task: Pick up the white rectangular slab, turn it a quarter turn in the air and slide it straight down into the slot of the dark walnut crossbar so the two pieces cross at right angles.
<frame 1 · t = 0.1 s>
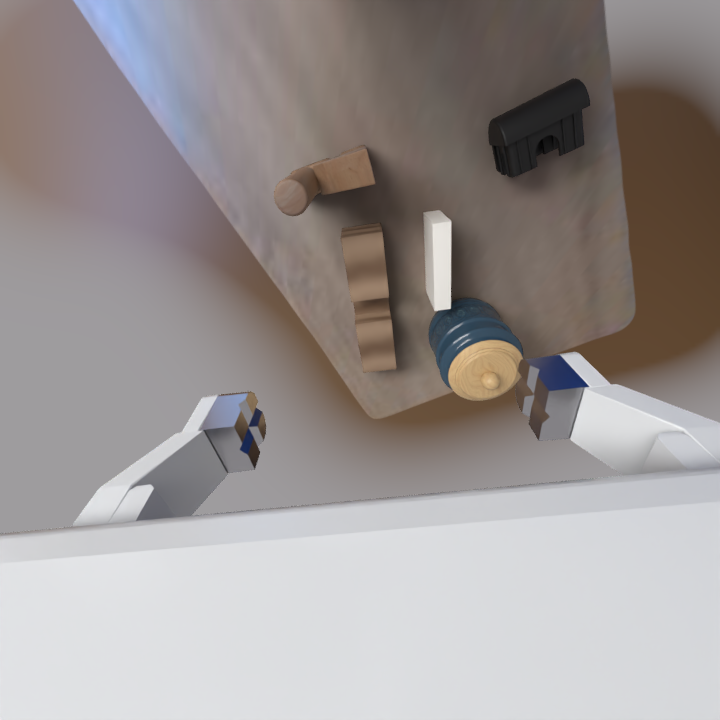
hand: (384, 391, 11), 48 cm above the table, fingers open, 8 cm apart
walnut crossbar: (370, 296, 60), on the table
end cap: (524, 131, 47), on the table
canister: (461, 327, 64), on the table
white rectangular slab: (432, 253, 56), on the table
wooden block: (332, 170, 49), on the table
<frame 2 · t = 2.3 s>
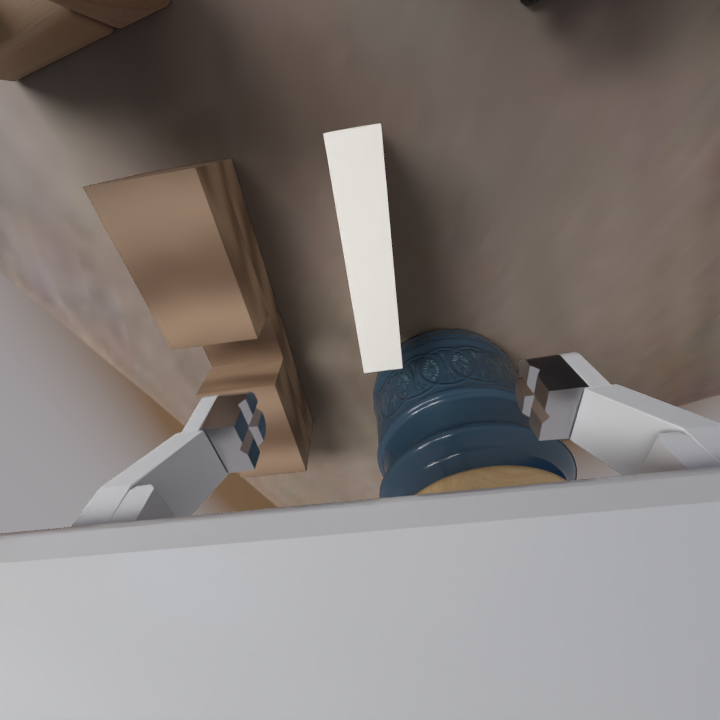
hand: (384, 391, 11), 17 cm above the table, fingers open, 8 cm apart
walnut crossbar: (247, 326, 29), on the table
canister: (439, 382, 33), on the table
white rectangular slab: (366, 234, 25), on the table
wooden block: (69, 2, 18), on the table
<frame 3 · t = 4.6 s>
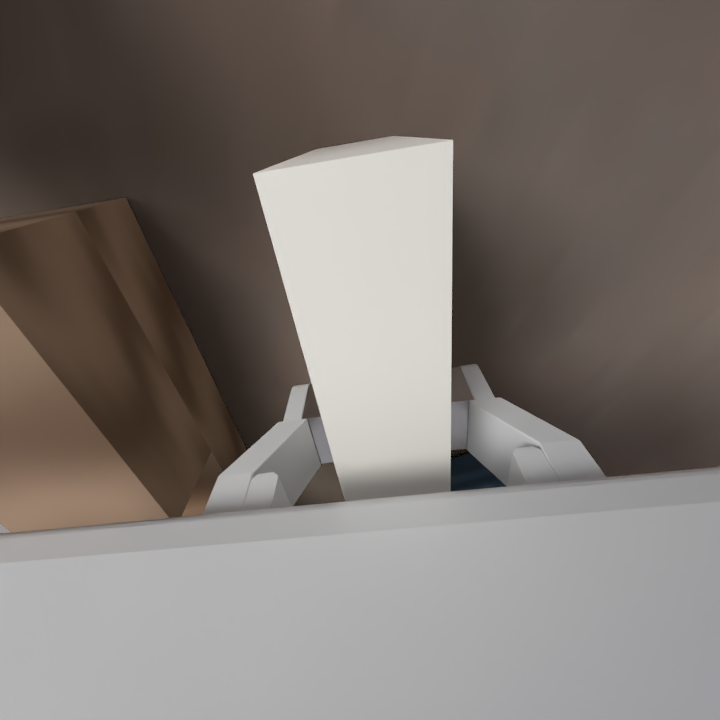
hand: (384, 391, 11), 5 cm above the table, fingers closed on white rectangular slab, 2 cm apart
walnut crossbar: (188, 445, 18), on the table
canister: (480, 509, 22), on the table
white rectangular slab: (377, 322, 14), on the table, touching gripper
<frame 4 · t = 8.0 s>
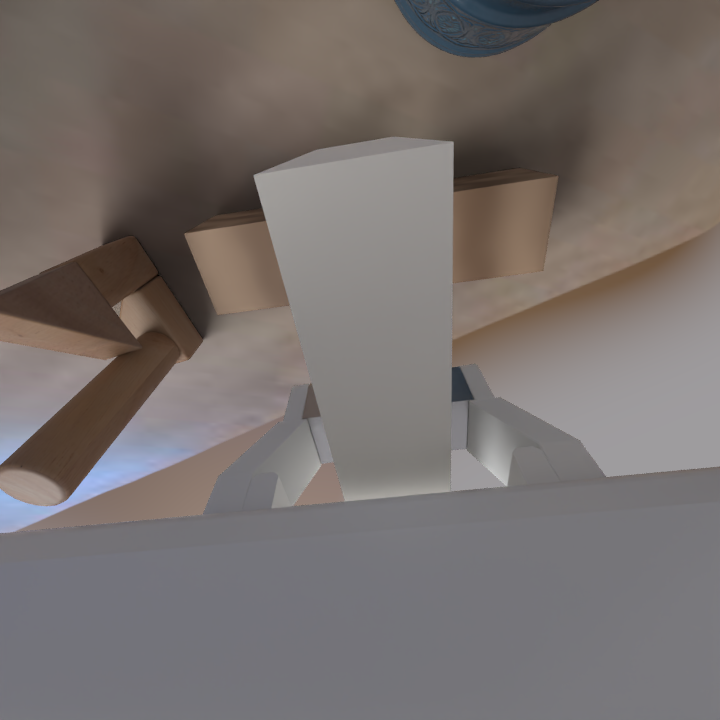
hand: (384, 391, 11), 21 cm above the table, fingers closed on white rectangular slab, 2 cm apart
walnut crossbar: (367, 231, 28), on the table
white rectangular slab: (377, 322, 14), point 17 cm above the table, touching gripper
wooden block: (157, 296, 31), on the table
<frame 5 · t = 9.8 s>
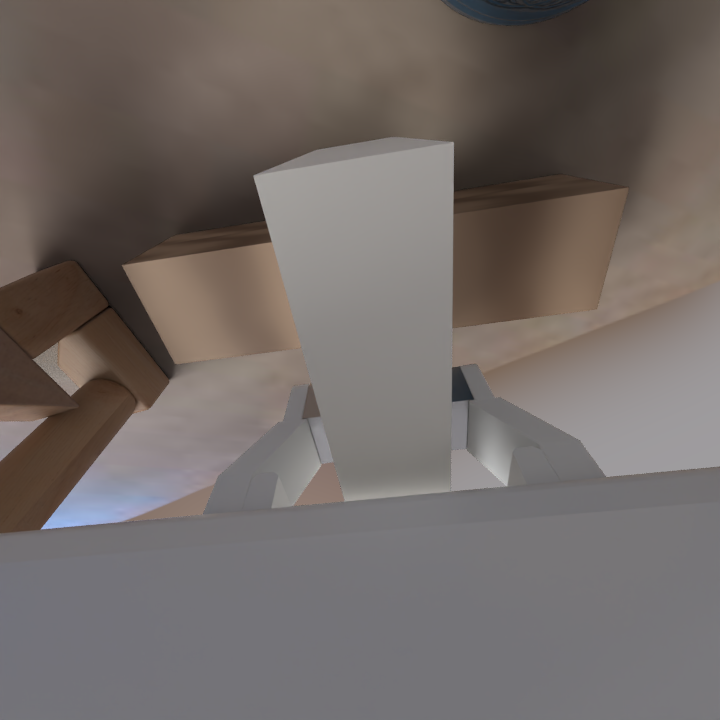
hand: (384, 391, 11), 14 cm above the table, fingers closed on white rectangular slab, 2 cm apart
walnut crossbar: (367, 254, 23), on the table
white rectangular slab: (377, 323, 14), point 10 cm above the table, touching gripper
wooden block: (111, 331, 26), on the table
when the fingers open (8 cm above the table, at t = 11.5 s): white rectangular slab stays where it is, resting on walnut crossbar.
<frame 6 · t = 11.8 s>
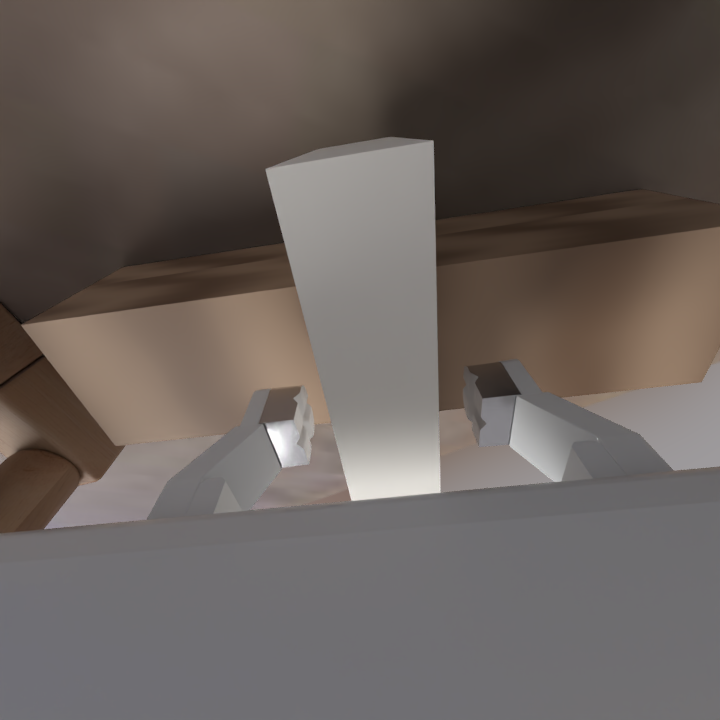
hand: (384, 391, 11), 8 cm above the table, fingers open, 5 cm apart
walnut crossbar: (375, 291, 17), on the table
white rectangular slab: (375, 313, 15), point 2 cm above the table, touching walnut crossbar
wooden block: (53, 380, 21), on the table
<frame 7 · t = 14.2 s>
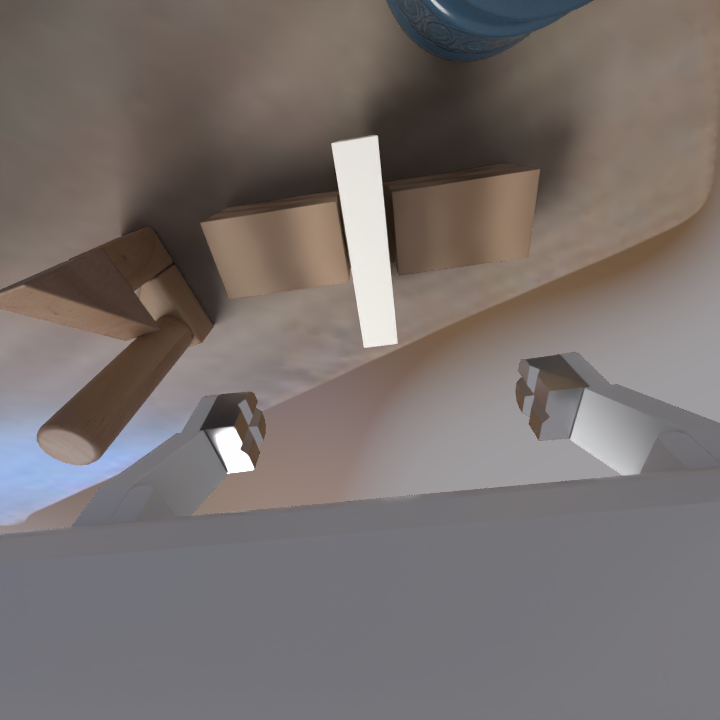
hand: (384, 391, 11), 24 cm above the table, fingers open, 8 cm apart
walnut crossbar: (367, 223, 30), on the table
white rectangular slab: (366, 229, 28), point 2 cm above the table, touching walnut crossbar
wooden block: (171, 284, 34), on the table
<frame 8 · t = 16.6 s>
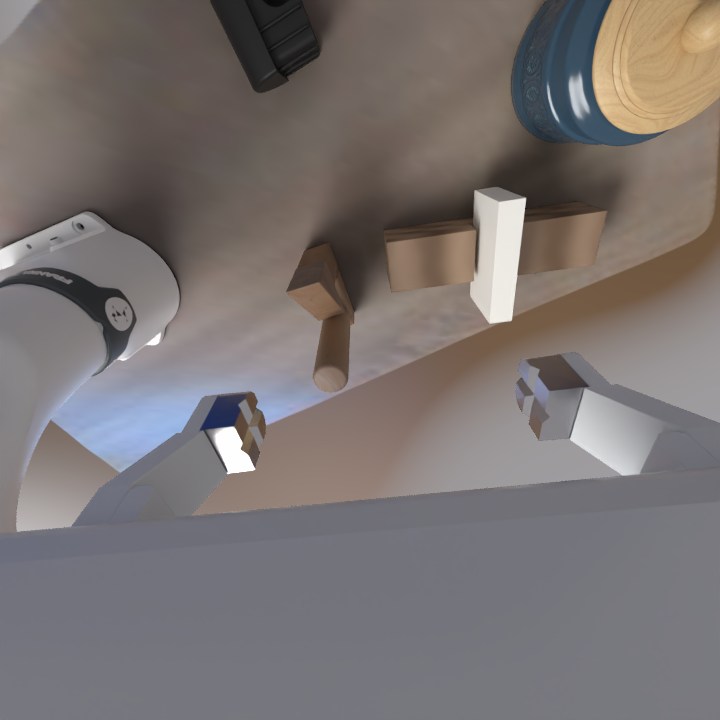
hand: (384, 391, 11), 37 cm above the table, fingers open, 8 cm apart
walnut crossbar: (477, 240, 44), on the table
end cap: (267, 19, 33), on the table
canister: (571, 68, 35), on the table
white rectangular slab: (482, 246, 42), point 2 cm above the table, touching walnut crossbar
wooden block: (330, 282, 48), on the table
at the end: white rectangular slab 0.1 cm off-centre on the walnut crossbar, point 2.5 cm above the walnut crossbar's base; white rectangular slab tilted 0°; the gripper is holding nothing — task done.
